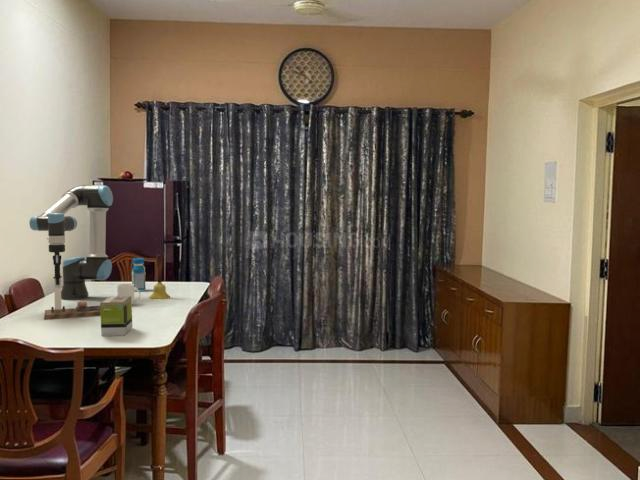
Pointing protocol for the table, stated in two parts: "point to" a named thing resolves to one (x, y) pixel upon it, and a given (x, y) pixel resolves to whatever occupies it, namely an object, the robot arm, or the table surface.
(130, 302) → the tea box
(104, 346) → the table surface
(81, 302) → the push button
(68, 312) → the control board
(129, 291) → the mug
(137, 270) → the beverage bottle
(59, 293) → the toggle lever
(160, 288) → the handbell
